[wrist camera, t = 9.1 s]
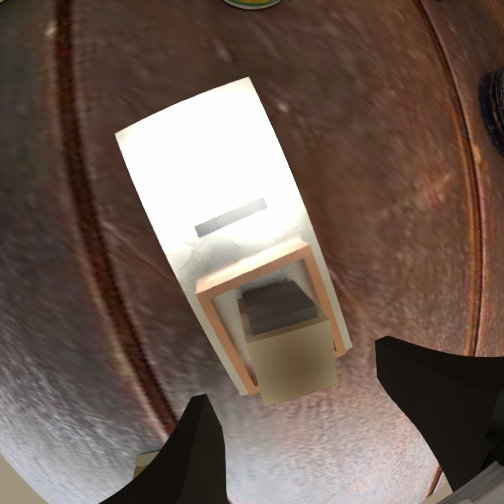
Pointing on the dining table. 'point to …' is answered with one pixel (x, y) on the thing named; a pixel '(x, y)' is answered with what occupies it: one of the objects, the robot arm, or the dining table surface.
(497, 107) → the storage jar
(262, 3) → the supplement bottle
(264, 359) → the block
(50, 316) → the dining table surface
